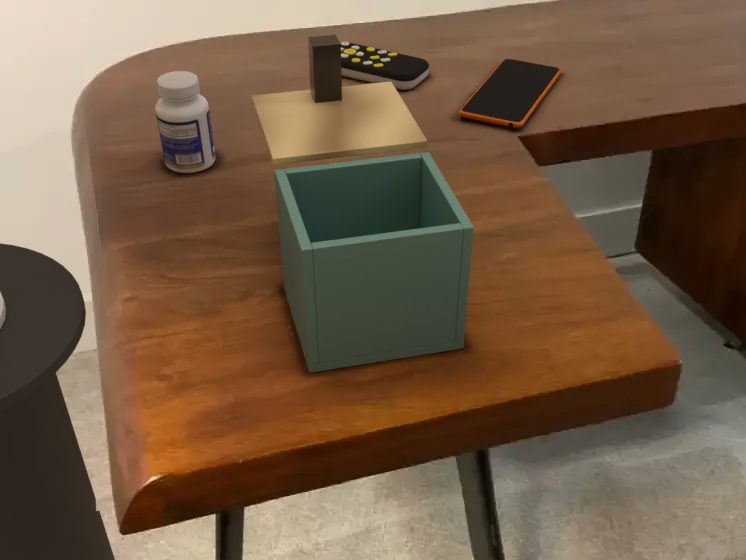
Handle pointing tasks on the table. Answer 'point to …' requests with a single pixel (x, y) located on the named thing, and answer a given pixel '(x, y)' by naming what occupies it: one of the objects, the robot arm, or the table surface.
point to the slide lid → (334, 114)
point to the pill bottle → (184, 123)
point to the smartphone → (510, 93)
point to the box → (373, 259)
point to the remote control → (382, 66)
